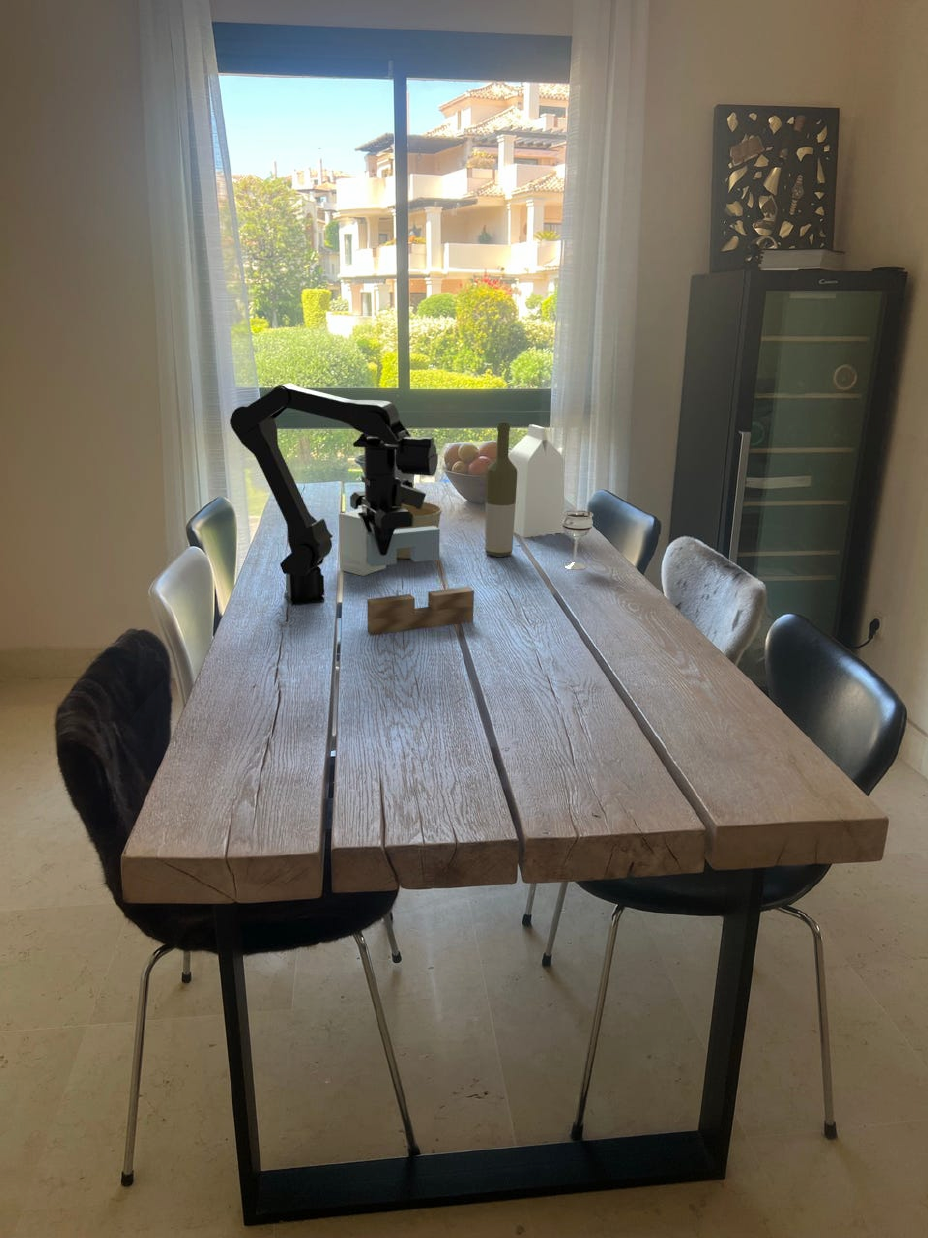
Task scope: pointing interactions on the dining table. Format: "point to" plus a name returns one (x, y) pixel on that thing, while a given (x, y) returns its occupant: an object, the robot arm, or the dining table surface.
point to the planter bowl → (420, 521)
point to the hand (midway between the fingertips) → (381, 553)
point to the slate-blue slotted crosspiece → (405, 545)
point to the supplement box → (354, 544)
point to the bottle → (500, 498)
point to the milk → (538, 485)
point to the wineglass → (577, 530)
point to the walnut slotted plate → (420, 611)
